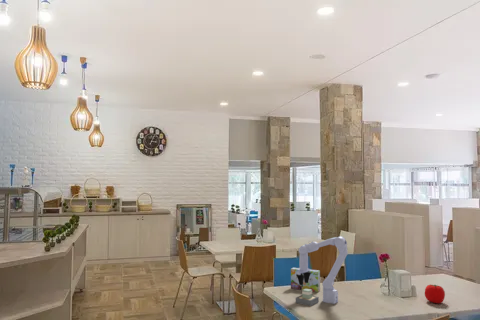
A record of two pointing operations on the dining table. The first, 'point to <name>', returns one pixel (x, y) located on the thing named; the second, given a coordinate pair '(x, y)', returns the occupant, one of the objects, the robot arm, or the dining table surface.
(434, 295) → the tomato
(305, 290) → the green banded cube
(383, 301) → the dining table surface
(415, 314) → the dining table surface
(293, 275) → the snack box
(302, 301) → the gray square tray
